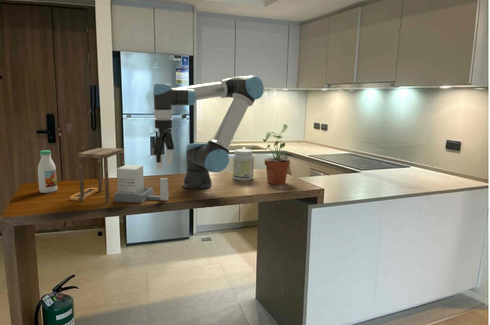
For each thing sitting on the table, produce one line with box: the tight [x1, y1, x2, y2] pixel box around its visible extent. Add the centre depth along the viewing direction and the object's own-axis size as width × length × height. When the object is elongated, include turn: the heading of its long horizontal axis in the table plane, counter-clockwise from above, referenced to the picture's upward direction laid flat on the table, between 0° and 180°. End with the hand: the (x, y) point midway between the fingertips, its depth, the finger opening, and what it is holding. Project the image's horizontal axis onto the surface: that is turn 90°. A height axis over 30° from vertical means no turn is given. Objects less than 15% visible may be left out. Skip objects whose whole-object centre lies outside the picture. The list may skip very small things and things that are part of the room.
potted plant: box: [262, 124, 291, 186], centre depth 198 cm, size 16×15×35 cm
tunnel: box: [77, 147, 125, 203], centre depth 165 cm, size 13×18×22 cm
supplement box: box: [116, 164, 145, 195], centre depth 163 cm, size 9×9×15 cm
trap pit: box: [68, 187, 100, 202], centre depth 168 cm, size 5×17×1 cm, turn 174°
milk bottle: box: [37, 149, 58, 194], centre depth 171 cm, size 8×8×20 cm
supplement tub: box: [232, 148, 255, 182], centre depth 208 cm, size 12×12×17 cm
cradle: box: [113, 177, 170, 204], centre depth 164 cm, size 22×13×10 cm, turn 84°
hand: (164, 166), depth 161 cm, fingers open, 13 cm apart
